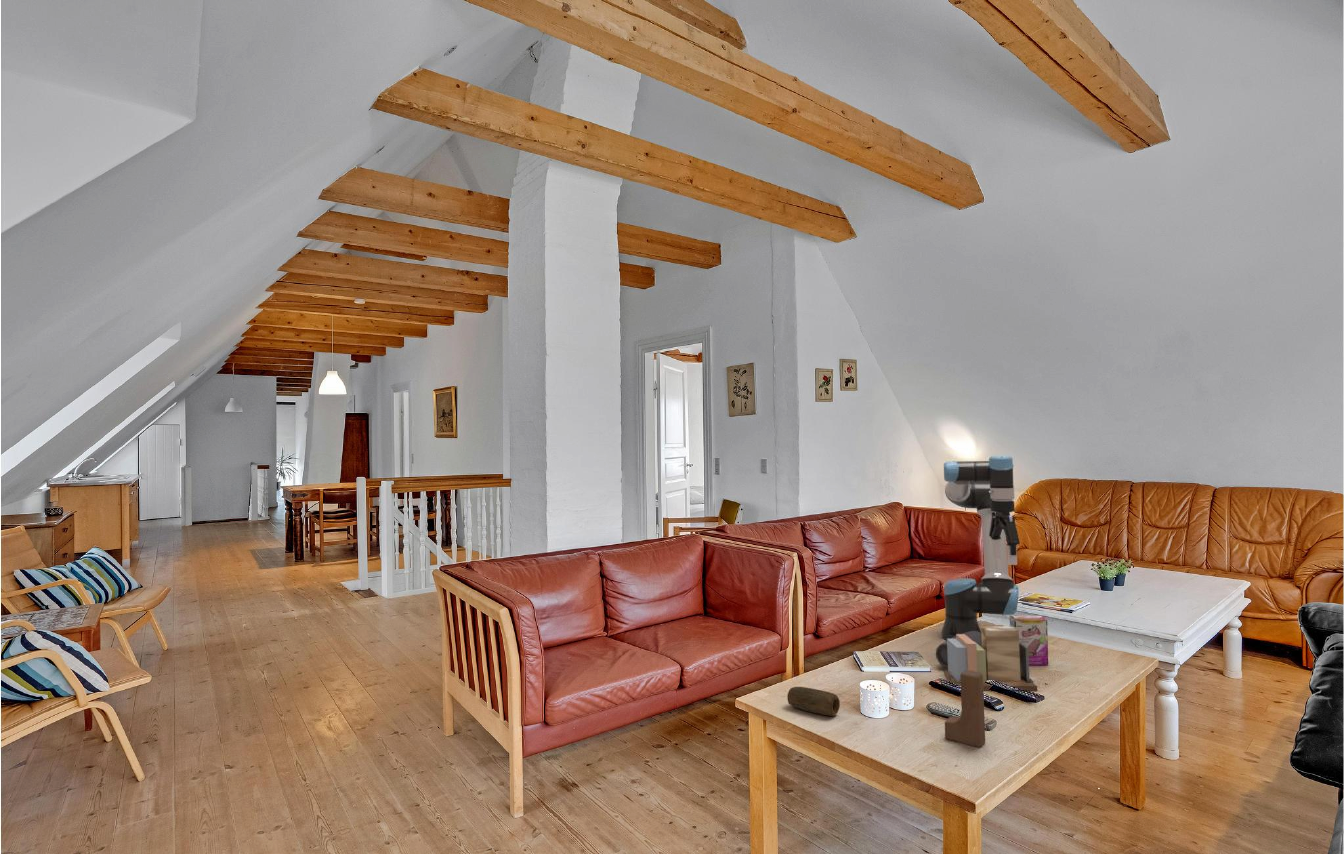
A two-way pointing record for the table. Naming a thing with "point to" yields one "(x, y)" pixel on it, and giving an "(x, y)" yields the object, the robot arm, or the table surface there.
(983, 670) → the book row
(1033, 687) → the shelf
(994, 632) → the tan rectangular block
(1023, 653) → the bookend
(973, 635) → the bluetooth speaker
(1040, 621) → the candy bar box
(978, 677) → the wooden block
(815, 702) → the portable cylindrical speaker
